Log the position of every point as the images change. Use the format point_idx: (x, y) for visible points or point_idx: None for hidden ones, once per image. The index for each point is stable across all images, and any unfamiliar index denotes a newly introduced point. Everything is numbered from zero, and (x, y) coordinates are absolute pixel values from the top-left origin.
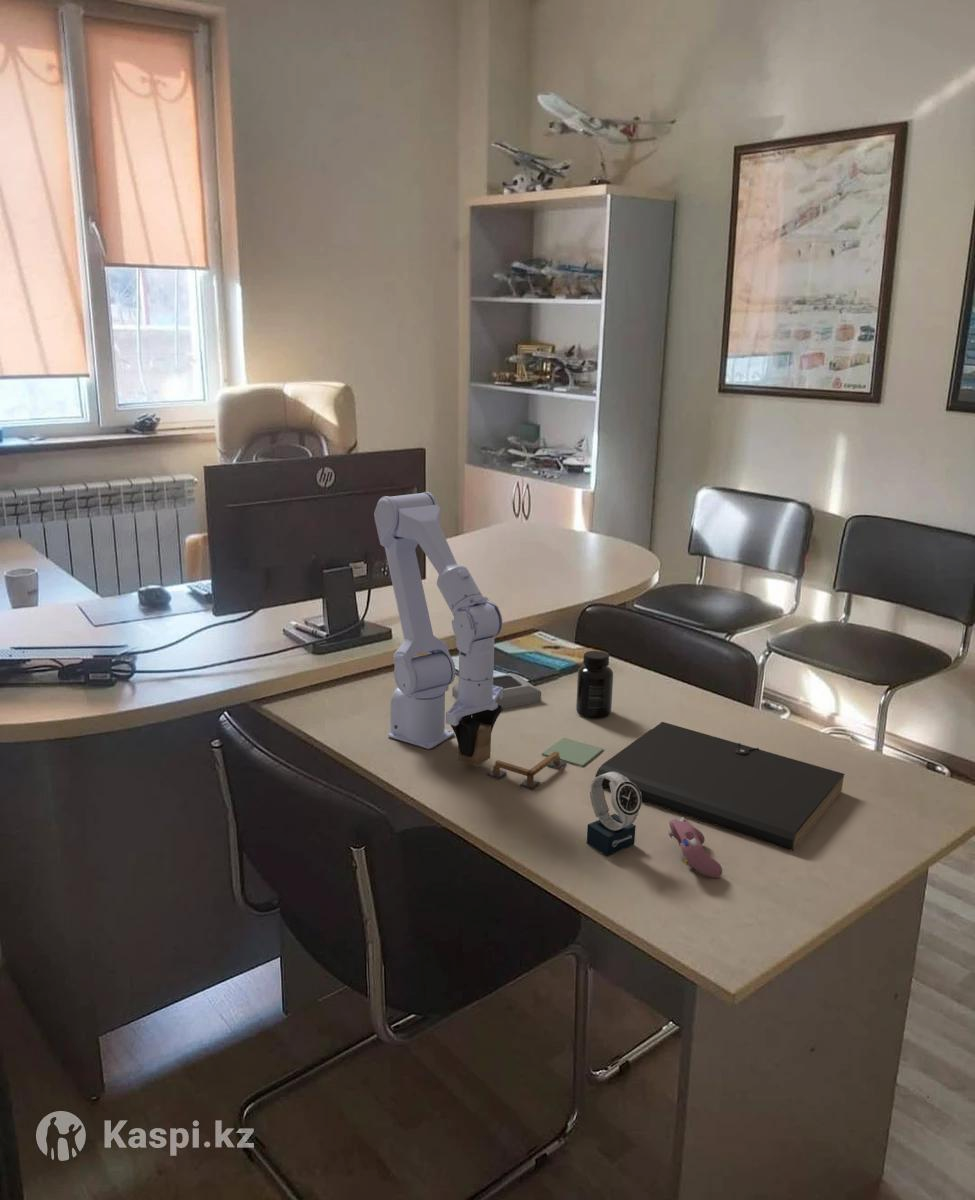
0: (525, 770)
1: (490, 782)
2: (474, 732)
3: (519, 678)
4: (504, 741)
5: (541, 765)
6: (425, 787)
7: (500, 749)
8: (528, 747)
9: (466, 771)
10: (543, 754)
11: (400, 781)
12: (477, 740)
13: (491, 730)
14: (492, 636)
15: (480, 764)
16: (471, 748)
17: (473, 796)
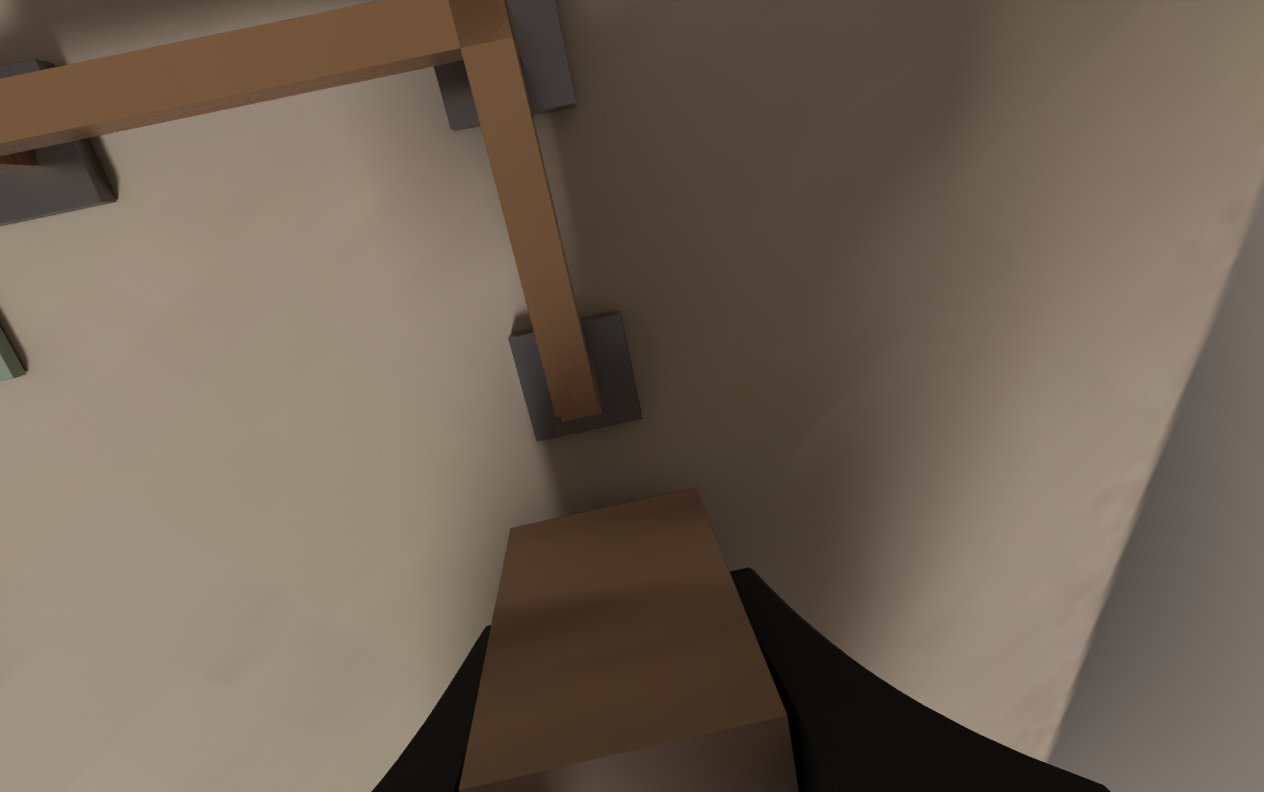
0: (507, 71)
1: (697, 319)
2: (912, 738)
3: None
4: (161, 691)
5: (275, 22)
6: (1024, 541)
7: (271, 625)
8: (50, 530)
9: None
10: (11, 361)
11: (1045, 670)
12: (759, 648)
13: (427, 738)
14: None
15: (651, 497)
16: (791, 610)
17: (944, 250)
